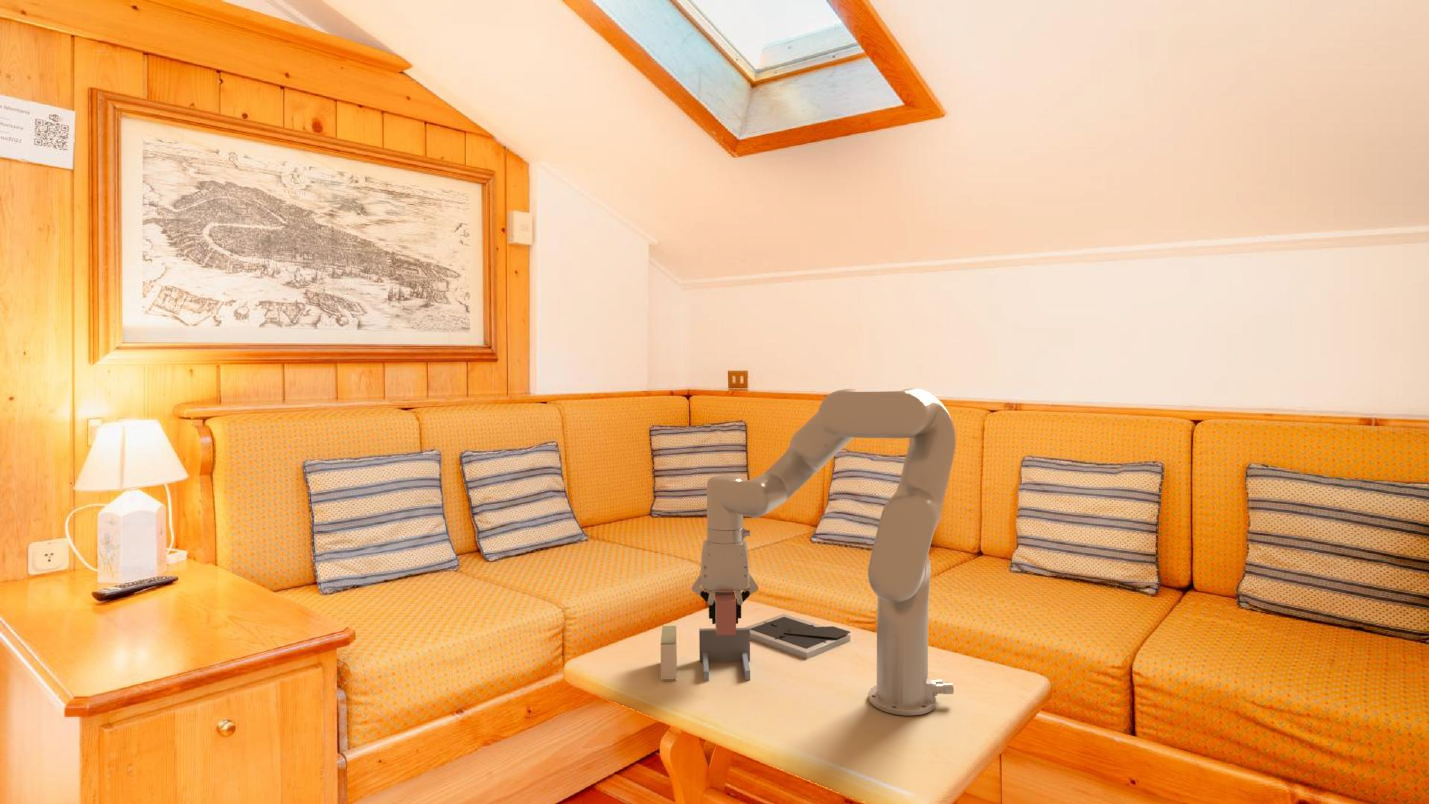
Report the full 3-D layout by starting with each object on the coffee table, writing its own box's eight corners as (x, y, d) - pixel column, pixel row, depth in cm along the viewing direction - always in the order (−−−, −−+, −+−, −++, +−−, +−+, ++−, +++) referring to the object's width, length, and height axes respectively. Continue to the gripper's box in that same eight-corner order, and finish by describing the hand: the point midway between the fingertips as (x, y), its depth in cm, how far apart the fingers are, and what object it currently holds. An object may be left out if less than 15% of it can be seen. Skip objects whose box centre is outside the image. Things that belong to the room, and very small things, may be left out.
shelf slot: (749, 658, 171) (749, 627, 171) (753, 680, 160) (753, 646, 160) (699, 659, 171) (699, 628, 170) (700, 681, 160) (700, 647, 159)
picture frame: (850, 643, 182) (783, 621, 197) (850, 631, 181) (783, 610, 197) (806, 662, 171) (739, 637, 186) (806, 649, 171) (739, 626, 186)
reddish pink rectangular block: (733, 618, 168) (733, 586, 168) (736, 635, 158) (736, 601, 158) (714, 618, 168) (714, 586, 168) (716, 635, 158) (716, 601, 158)
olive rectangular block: (676, 661, 170) (676, 625, 170) (676, 680, 160) (675, 642, 159) (662, 662, 170) (662, 625, 169) (661, 681, 160) (660, 643, 159)
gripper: (763, 531, 166) (763, 615, 167) (684, 531, 166) (685, 616, 167) (766, 539, 159) (766, 627, 160) (684, 540, 158) (684, 628, 159)
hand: (724, 620), depth 163 cm, fingers closed on reddish pink rectangular block, 4 cm apart
